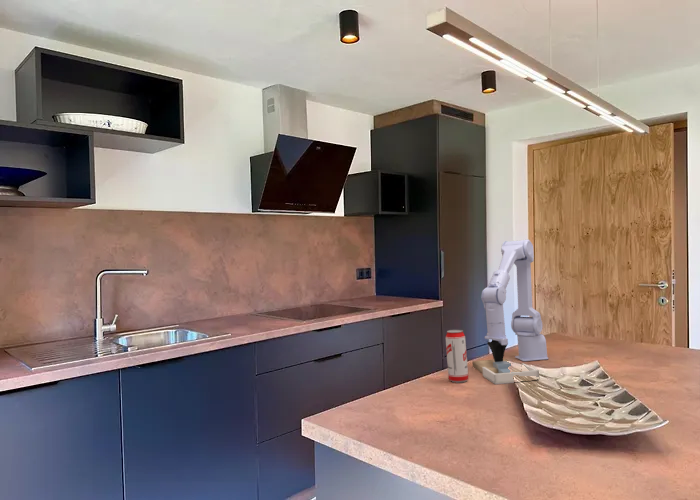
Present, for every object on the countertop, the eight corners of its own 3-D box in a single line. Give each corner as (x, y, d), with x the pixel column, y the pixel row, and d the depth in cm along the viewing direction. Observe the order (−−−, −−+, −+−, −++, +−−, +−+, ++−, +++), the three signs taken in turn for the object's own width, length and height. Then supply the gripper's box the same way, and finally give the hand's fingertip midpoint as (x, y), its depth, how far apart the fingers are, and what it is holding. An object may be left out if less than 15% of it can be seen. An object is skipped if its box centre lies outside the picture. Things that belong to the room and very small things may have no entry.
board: (505, 364, 175) (505, 358, 175) (521, 372, 161) (521, 366, 161) (472, 367, 174) (472, 361, 174) (486, 376, 160) (485, 369, 160)
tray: (524, 372, 161) (523, 363, 161) (539, 380, 150) (538, 370, 150) (483, 376, 160) (482, 367, 160) (495, 384, 149) (494, 374, 149)
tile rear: (506, 365, 164) (506, 361, 164) (511, 368, 159) (511, 363, 159) (493, 366, 164) (492, 362, 164) (498, 369, 159) (497, 364, 159)
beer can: (467, 378, 159) (463, 328, 160) (470, 382, 153) (466, 331, 154) (447, 379, 160) (444, 330, 160) (449, 383, 154) (445, 333, 154)
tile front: (512, 372, 159) (511, 368, 159) (517, 376, 155) (517, 371, 155) (498, 374, 159) (498, 369, 159) (503, 377, 154) (503, 372, 155)
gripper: (477, 321, 172) (480, 359, 171) (491, 326, 157) (494, 368, 157) (496, 319, 172) (499, 358, 172) (512, 324, 158) (516, 366, 157)
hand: (498, 363), depth 164 cm, fingers closed
